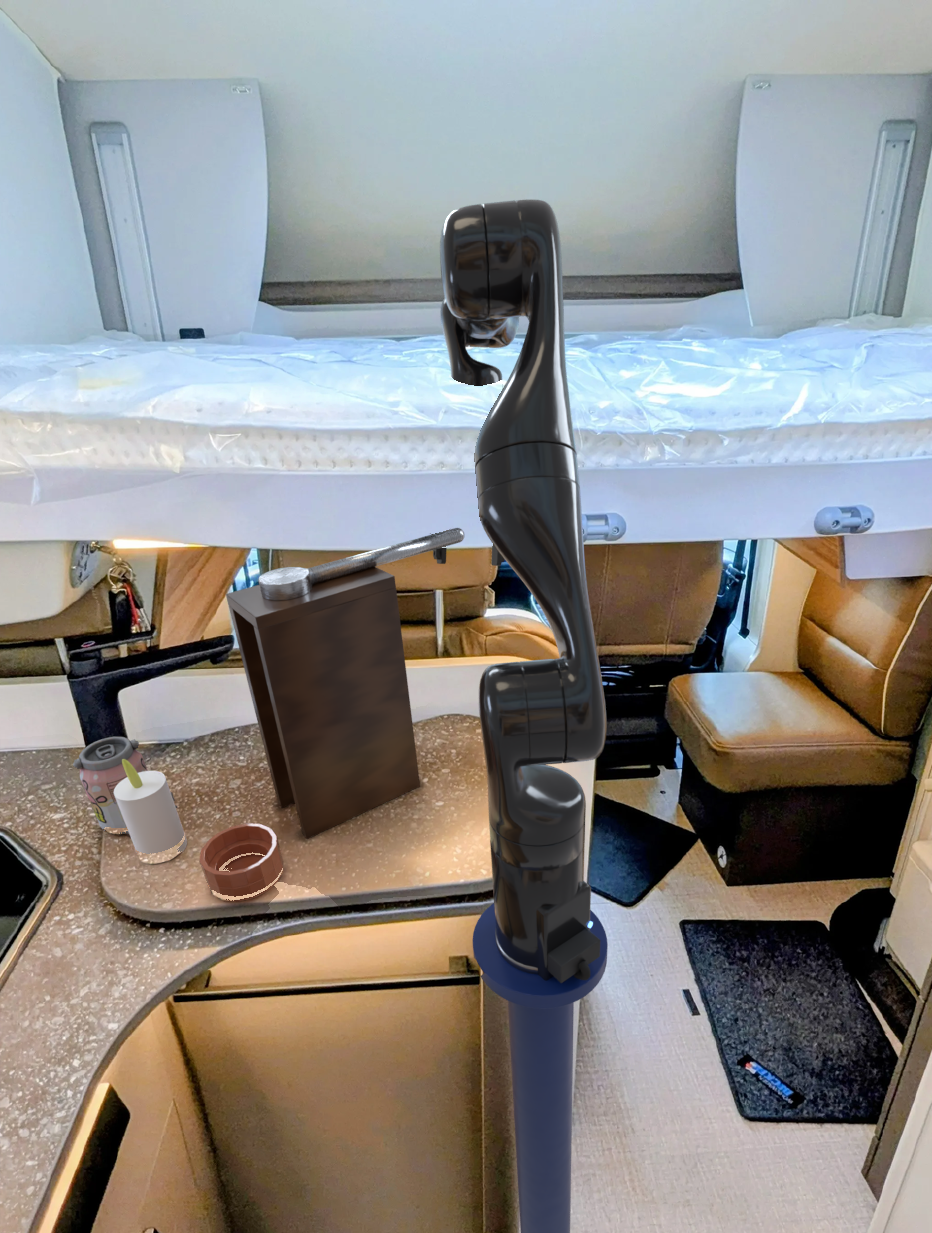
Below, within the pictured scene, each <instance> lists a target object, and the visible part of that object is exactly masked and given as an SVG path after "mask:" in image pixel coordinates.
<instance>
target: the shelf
mask: <svg viewBox="0 0 932 1233" xmlns="http://www.w3.org/2000/svg"><path fill="white" fill-rule="evenodd" d="M225 597H226V602H227V605H228V609H229V613H230V617H231V621H232V625H233V630H234V634H235V637H236V640H237V646H238V648H239V652H240V657H241V661H242V665H243V669H244V673H245V677H246V681H247V685H248V689H249V692H250V698H251V702H252V705H253V708H254V709H253V710H254V713H255V717H256V721H257V725H258V729H259V733H260V738H261V741H262V745H263V749H264V752H265V758H266V761H267V764H268V768H269V769H268V770H269V773H270V777H271V782H272V785H273V788H274V793H275V797H276V801H277V805H279V806H280V808H281V809H283V808H285V807H288V806H290V805H292V804H294V803H295V808H296V813H297V817H298V821H299V825H300V829H301V834H302V835H303V837H304V838H305V839H306V840H308V839H311V838H312V837H314V836H317V835H319V834H321V833H323V832H325V831H328V830H329V829H332V828H334V827H336V826H338V825H340V824H342V823H344V822H347V821H349V820H351V819H353V818H356V817H357V816H359V815H361V814H363V813H367V812H368V811H370V810H372V809H375V808H376V807H379V806H381V805H383V804H385V803H387V802H389V801H392V800H395V799H396V798H398V797H400V796H402V795H405V794H407V793H409V792H411V791H413V790H415V789H417V788H420V787H421V781H420V774H419V773H420V772H419V765H418V756H417V749H416V740H415V732H414V724H413V715H412V708H411V699H410V692H409V691H410V690H409V683H408V676H407V675H408V674H407V666H406V658H405V649H404V642H403V634H402V625H401V618H400V609H399V600H398V593H397V587H396V576H395V575H394V574H391V573H389V572H388V571H387V572H386V571H385V570H383V569H381V568H378V566H376V567H372V568H369V569H365V570H362V571H358V572H355V573H351V574H348V575H344V576H341V577H337V578H334V579H330V580H327V581H323V582H320V583H316V584H313V585H312V590H311V591H310V592H309V593H307V594H306V595H303V596H301V597H298V598H294V599H290V600H281V601H274V600H267V599H265V598H263V597H262V594H261V590H260V585H259V584H257V585H253V586H249V587H246V588H242V589H239V590H235V591H232V592H229V593H226V594H225Z"/></svg>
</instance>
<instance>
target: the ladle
mask: <svg viewBox="0 0 932 1233" xmlns="http://www.w3.org/2000/svg"><path fill="white" fill-rule="evenodd" d="M464 539H465V532H464V530H463V529H462V528H460V527H453V528H450V529H449V530H446V531H443V532H439V533H435V534H428V535H425V536H422V537H417V538H414V539H410V540H406V541H403V542H399V543H395V544H392V545H388V546H385V547H381V548H378V549H373V550H370V551H366V552H362V553H358V554H355V555H352V556H347V557H345V558H344V557H343V558H341V559H337V560H333V561H329V562H326V563H322V564H319V565H315V566H312V567H308V568H306V567H300V566H286V567H279V568H275V569H271V570H270V571H266V572H264V573H262V574H261V575H260V576H259V577H258V579H257V580H258V585H260V590H261V594H262V597H263V598H265V599H267V600H274V601H281V600H290V599H294V598H298V597H301V596H303V595H306V594H307V593H309V592H310V591H311V590H312V585H313V584H316V583H320V582H323V581H327V580H330V579H334V578H337V577H341V576H344V575H348V574H351V573H355V572H358V571H362V570H365V569H369V568H372V567H379V566H382V565H386V564H389V563H393V562H396V561H400V560H404V559H407V558H411V557H414V556H418V555H421V554H425V553H428V552H433V550H435V549H439V548H442V547H446V546H447V547H450V546H452V545H456V544H460V543H461V542H463V541H464Z"/></svg>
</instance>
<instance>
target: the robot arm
mask: <svg viewBox="0 0 932 1233" xmlns="http://www.w3.org/2000/svg"><path fill="white" fill-rule="evenodd" d="M559 229H560V228H559V224H558V219H557V216H556V214H555V211H554V208H553V207H552V205H551V204H549V203H548V202H547V201H546V200H542V199H517V200H516V199H514V200H504V201H494V202H485V203H482V204H481V203H475V204H469V205H465V206H462V207H459V208H456V209H454V210H452V211H450V213H449V214H448V215H447V216H446V218H445V220H444V221H443V224H442V228H441V231H440V240H439V264H440V274H441V275H440V276H441V283H442V291H443V296H444V297H443V299H442V302H441V304H440V325H441V328H442V333H443V337H444V341H445V346H446V349H447V355H448V360H449V368H450V378H451V377H452V378H453V379H454V380H456V381H458V382H461V383H465V384H468V385H474V386H483V385H487V384H492V383H496V382H498V381H500V380H503V374H502V371H501V370H500V368H498V367H497V366H495V365H493V364H489V363H485V362H483V361H479V360H477V359H474V358H473V357H472V356H471V355H470V353H469V352H468V350H467V348H484V349H485V348H487V349H501V348H506V347H508V346H510V345H511V344H512V343H513V342H514V340H515V339H516V336H517V334H518V330H519V326H520V318H522V317H525V318H527V320H528V326H527V330H526V334H525V337H524V339H523V343H522V347H521V350H520V352H519V355H518V357H517V359H516V362H515V364H514V366H513V369H512V371H511V373H510V375H509V377H508V378H507V381H506V382H505V384H504V385H503V386H502V391H501V393H500V394H499V396H498V398H497V400H496V401H495V403H494V405H493V407H492V408H491V410H490V412H489V414H488V416H487V418H486V420H485V422H484V424H483V426H482V428H481V430H480V433H479V436H478V438H477V442H476V446H475V453H474V462H475V474H476V486H477V498H478V509H479V517H480V521H481V522H480V524H481V526H482V529H483V530H484V532H485V534H486V535H487V537H488V539H489V540H490V542H491V544H492V543H493V546H492V545H491V563H490V564H491V566H494V567H501V566H502V563H504V562H506V563H507V564H508V565H509V567H510V568H511V569H512V570H513V571H514V572H515V574H516V575H517V576H518V577H519V579H520V580H521V581H522V582H523V584H524V585H525V586H526V588H527V589H528V591H530V593H531V595H532V596H533V598H534V599H535V601H536V603H537V604H538V606H539V607H540V609H541V611H542V613H543V615H544V616H545V618H546V621H547V623H548V625H549V626H550V629H551V632H552V634H553V637H554V640H555V644H556V647H557V653H558V655H559V657H558V658H547V659H545V658H544V659H535V660H523V661H511V662H500V663H494V664H491V665H489V666H487V667H486V668H485V669H484V671H483V672H482V675H481V676H480V680H479V685H478V714H479V723H480V730H481V731H480V732H481V739H482V747H483V755H484V762H485V770H486V779H487V780H486V783H487V784H486V785H487V804H488V805H487V806H488V808H487V810H488V825H489V826H488V827H489V843H490V844H489V847H490V859H491V860H490V861H491V862H490V863H491V876H492V888H493V889H492V891H493V892H492V893H493V903H494V909H495V922H496V930H495V937H496V945H497V949H498V951H499V953H500V955H501V956H502V957H503V958H504V960H505V961H506V962H507V963H509V964H510V965H511V966H513V967H514V968H516V969H518V970H521V971H523V972H526V973H531V974H537V975H539V976H540V977H541V978H542V979H543V980H545V981H547V980H549V979H551V978H552V977H553V976H554V977H555V978H556V979H557V980H558V981H559V982H560V983H563V982H564V981H565V980H567V979H568V978H570V977H571V976H573V975H574V977H575V978H576V979H580V980H588V979H589V978H590V973H591V972H590V968H589V966H588V964H590V963H591V962H593V961H594V960H596V959H597V958H598V957H600V939H599V938H597V937H596V936H595V935H594V934H593V933H592V932H591V931H590V928H591V927H592V925H593V922H591V921H590V910H591V905H592V904H591V902H592V897H591V896H592V887H591V885H590V884H588V883H587V882H586V881H585V844H586V842H585V841H586V837H585V836H586V808H587V803H586V802H587V801H586V795H585V792H584V788H583V787H582V785H581V783H580V782H579V781H578V780H577V779H576V778H574V777H573V776H572V775H571V774H569V773H568V772H566V771H564V770H562V769H560V768H558V767H555V766H552V765H557V764H558V765H559V764H573V763H582V762H589V761H593V760H595V759H597V758H599V757H600V756H601V754H602V753H603V751H604V748H605V746H606V745H605V744H606V742H607V741H606V740H607V724H608V723H607V710H606V708H607V707H606V699H605V692H604V684H603V678H602V671H601V665H600V660H599V652H598V646H597V640H596V635H595V634H596V633H595V630H594V629H595V628H594V622H593V616H592V609H591V608H592V607H591V603H590V596H589V589H588V580H587V571H586V570H587V569H586V559H585V545H584V530H583V528H584V527H583V515H582V514H583V513H582V498H581V497H582V496H581V485H580V474H579V464H578V453H577V446H576V445H577V444H576V438H575V430H574V422H573V416H572V408H571V398H570V391H569V382H568V374H567V373H568V372H567V362H566V361H567V360H566V344H565V315H564V314H565V313H564V286H563V283H564V282H563V281H564V280H563V261H562V258H563V257H562V244H561V235H560V230H559ZM447 550H448V549H447V548H439V549H435V550H432V556H433V560H436V564H438V565H445V564H447Z"/></svg>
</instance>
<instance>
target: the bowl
mask: <svg viewBox="0 0 932 1233" xmlns="http://www.w3.org/2000/svg"><path fill="white" fill-rule="evenodd" d="M281 850H282V849H281V847H280V843H279V839H278V836H277V834H276V833H275V831H274V830H273V829H272V828H271V827H269V826H266V825H264V824H262V823H252V822H251V823H250V822H248V823H240V824H236V825H232V826H230V827H227V828H225V829H222V830H220V831H218V832H217V833H216V834H214V835H213V836H211V837H210V838H209V839H208V840H207V841H206V843H205V844H204V845H203V847H202V848H201V850H200V854H199V860H198V861H199V864H200V867H201V870H202V873H203V876H204V878H205V882H206V881H207V882H206V884H207V883H208V885H209V887H210V889H211V890H214V891H216V892H217V893H220V894H222V895H228V896H234V897H236V896H243V895H247V894H252V893H254V892H257V891H258V890H261V889H263V888H265V887H266V886H268V885H269V884H270V883H272V882H273V881H274V880H275V879H276V878H277V877H278V875H279V873H280V872H281V870H282V868H283V871H282V873H281V875H280V877H279V878H278V880H277V881H276V882H275V883H274V884H273V885H272V886H270V887H269V888H268V889H267V890H265V891H263V892H261V893H259V894H257V895H255V896H253V897H249V898H244V899H240V900H234V901H233V900H232V901H230V900H229V899H228V900H229V901H228V902H236V903H237V902H242V901H247V900H252V899H255V898H257V897H258V896H261V895H263V894H265V893H267V892H269V890H271V889H272V888H273V887H274V886H275V885H276V884H277V883H278V882H279V880H280V879H281V877H282V875H283V873H284V869H285V868H284V859H283V854H282V851H281ZM252 852H253V853H260V854H263V855H265V856H262V855H255V854H251V855H246V856H241V857H239V858H237V859H235V860H233V861H231V862H230V863H229V864H228V865H226V866H225V868H226V869H227V868H228V869H227V870H229V871H230V872H229V871H219V868H220V867H221V866H222V865H223V864H224V863H225V862H227V861H228V860H229V859H231V858H233V857H235V856H238V855H241V854H246V853H252ZM225 868H224V869H225ZM231 868H232V869H231ZM224 869H223V870H224ZM226 869H225V870H226ZM208 885H207V886H208ZM209 887H208V888H209ZM210 889H209V890H210ZM226 900H227V899H226Z"/></svg>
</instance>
